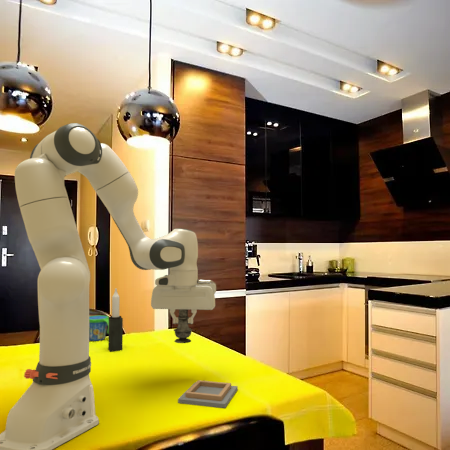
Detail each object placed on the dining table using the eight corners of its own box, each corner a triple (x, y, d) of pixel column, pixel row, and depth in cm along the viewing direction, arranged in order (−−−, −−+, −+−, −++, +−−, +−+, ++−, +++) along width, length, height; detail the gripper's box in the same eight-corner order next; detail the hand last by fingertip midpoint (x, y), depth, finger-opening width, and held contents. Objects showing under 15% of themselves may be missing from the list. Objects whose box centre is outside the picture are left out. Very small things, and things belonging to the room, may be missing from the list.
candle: (107, 349, 154) (108, 288, 156) (120, 347, 157) (120, 287, 159) (110, 351, 150) (110, 289, 152) (122, 350, 152) (123, 288, 154)
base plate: (225, 408, 95) (225, 399, 95) (178, 402, 99) (177, 394, 99) (237, 389, 108) (237, 381, 108) (195, 385, 111) (195, 378, 111)
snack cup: (117, 339, 172) (117, 316, 173) (99, 344, 163) (99, 320, 164) (93, 335, 180) (94, 314, 180) (75, 340, 171) (75, 317, 171)
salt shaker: (182, 344, 114) (183, 304, 114) (169, 341, 117) (170, 302, 118) (196, 341, 118) (196, 302, 119) (182, 338, 122) (183, 301, 123)
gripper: (216, 279, 122) (216, 322, 121) (154, 278, 123) (153, 321, 122) (215, 280, 116) (215, 326, 114) (150, 279, 117) (149, 324, 115)
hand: (183, 323), depth 118 cm, fingers closed on salt shaker, 3 cm apart
